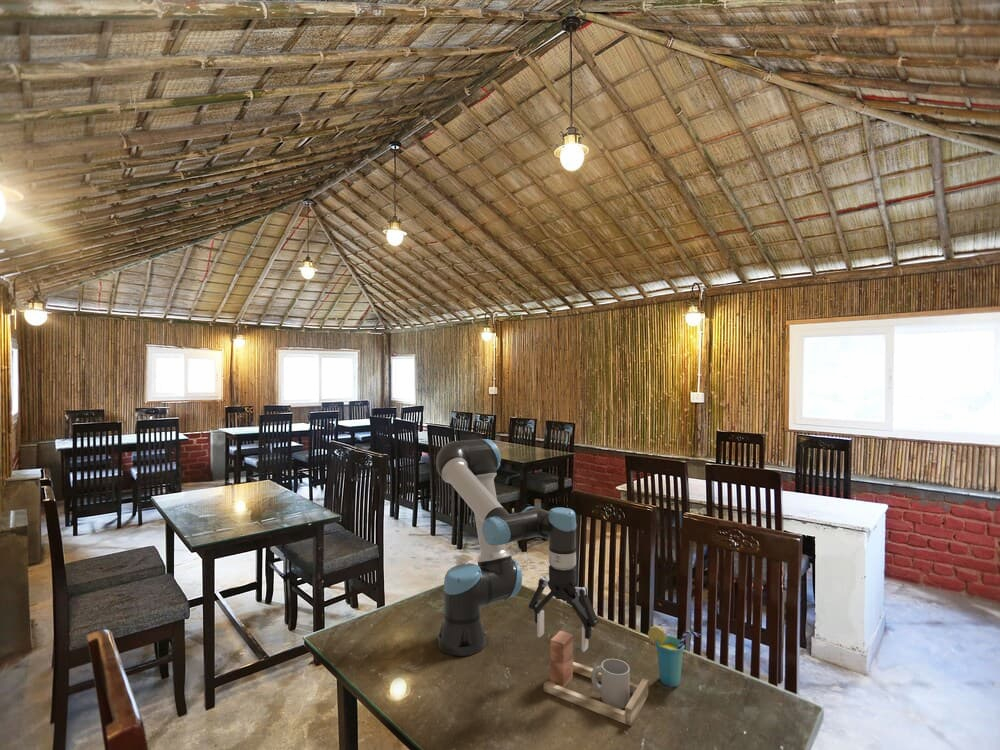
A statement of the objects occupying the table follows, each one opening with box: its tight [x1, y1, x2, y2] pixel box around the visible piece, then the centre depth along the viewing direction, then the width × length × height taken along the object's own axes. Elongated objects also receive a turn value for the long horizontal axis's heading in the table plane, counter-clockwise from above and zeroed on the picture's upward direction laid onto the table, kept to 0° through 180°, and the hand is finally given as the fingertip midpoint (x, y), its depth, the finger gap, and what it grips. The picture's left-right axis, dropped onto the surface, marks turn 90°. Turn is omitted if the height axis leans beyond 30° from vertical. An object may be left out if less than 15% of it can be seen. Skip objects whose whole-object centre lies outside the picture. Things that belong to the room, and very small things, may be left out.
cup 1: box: [590, 658, 631, 710], centre depth 128 cm, size 7×10×9 cm
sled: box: [543, 630, 649, 727], centre depth 131 cm, size 24×14×12 cm, turn 57°
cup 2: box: [647, 626, 701, 688], centre depth 136 cm, size 14×8×15 cm, turn 70°
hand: (562, 642), depth 136 cm, fingers open, 13 cm apart
